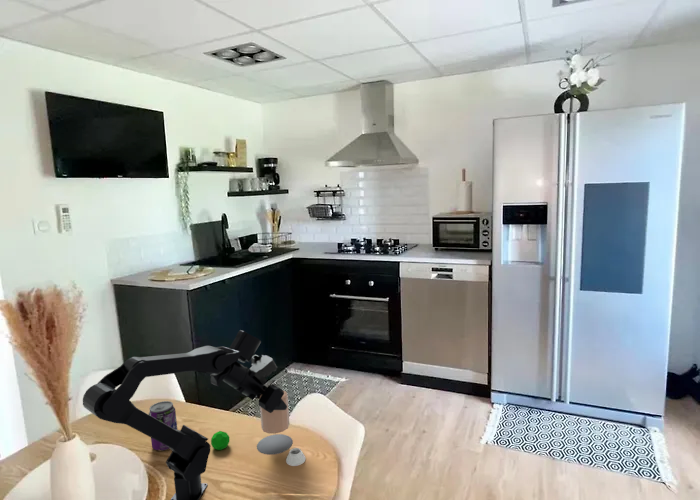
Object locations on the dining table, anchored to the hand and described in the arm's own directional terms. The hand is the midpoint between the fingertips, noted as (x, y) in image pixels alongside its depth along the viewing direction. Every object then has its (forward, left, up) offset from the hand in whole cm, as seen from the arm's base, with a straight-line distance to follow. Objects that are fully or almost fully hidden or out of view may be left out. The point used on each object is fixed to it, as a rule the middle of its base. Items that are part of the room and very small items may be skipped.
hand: (278, 403), depth 122 cm
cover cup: (-1, +1, -6) cm, 6 cm away
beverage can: (-1, +34, -13) cm, 36 cm away
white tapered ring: (-7, -6, -13) cm, 16 cm away
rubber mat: (0, +2, -12) cm, 13 cm away
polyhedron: (-2, +17, -13) cm, 21 cm away
